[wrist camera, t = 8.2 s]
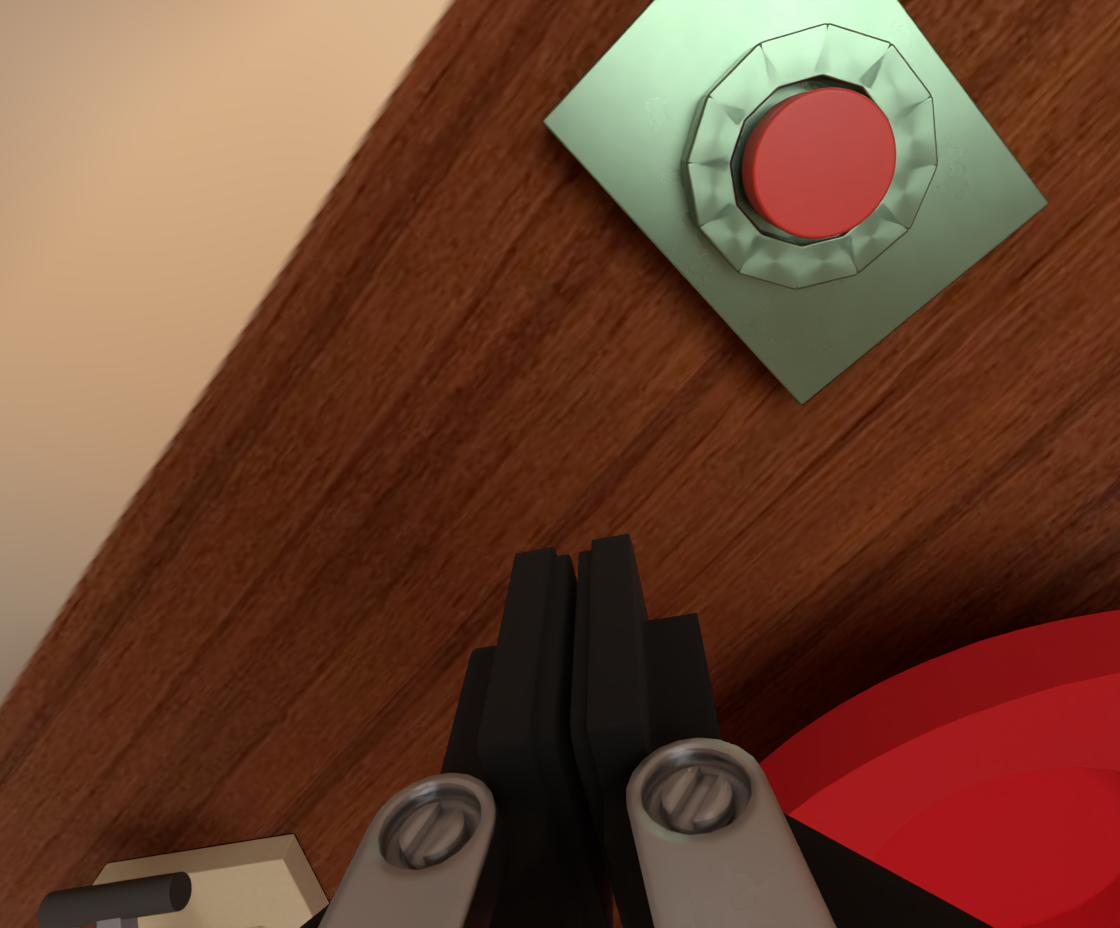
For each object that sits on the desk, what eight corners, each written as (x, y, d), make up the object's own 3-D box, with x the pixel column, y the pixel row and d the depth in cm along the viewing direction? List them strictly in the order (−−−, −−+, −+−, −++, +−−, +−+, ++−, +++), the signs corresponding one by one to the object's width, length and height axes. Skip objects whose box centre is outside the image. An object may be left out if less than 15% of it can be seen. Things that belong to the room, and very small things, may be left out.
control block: (546, 122, 25) (535, 120, 21) (772, -124, 22) (805, -176, 18) (788, 387, 28) (815, 425, 24) (1014, 198, 25) (1085, 208, 21)
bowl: (678, 463, 29) (712, 615, 20) (1538, 515, 28) (1997, 702, 19) (618, 1008, 41) (622, 1263, 31) (1223, 1058, 40) (1411, 1338, 30)
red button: (713, 163, 22) (722, 165, 20) (820, 59, 21) (838, 52, 19) (796, 258, 23) (811, 268, 21) (902, 164, 21) (927, 166, 20)
